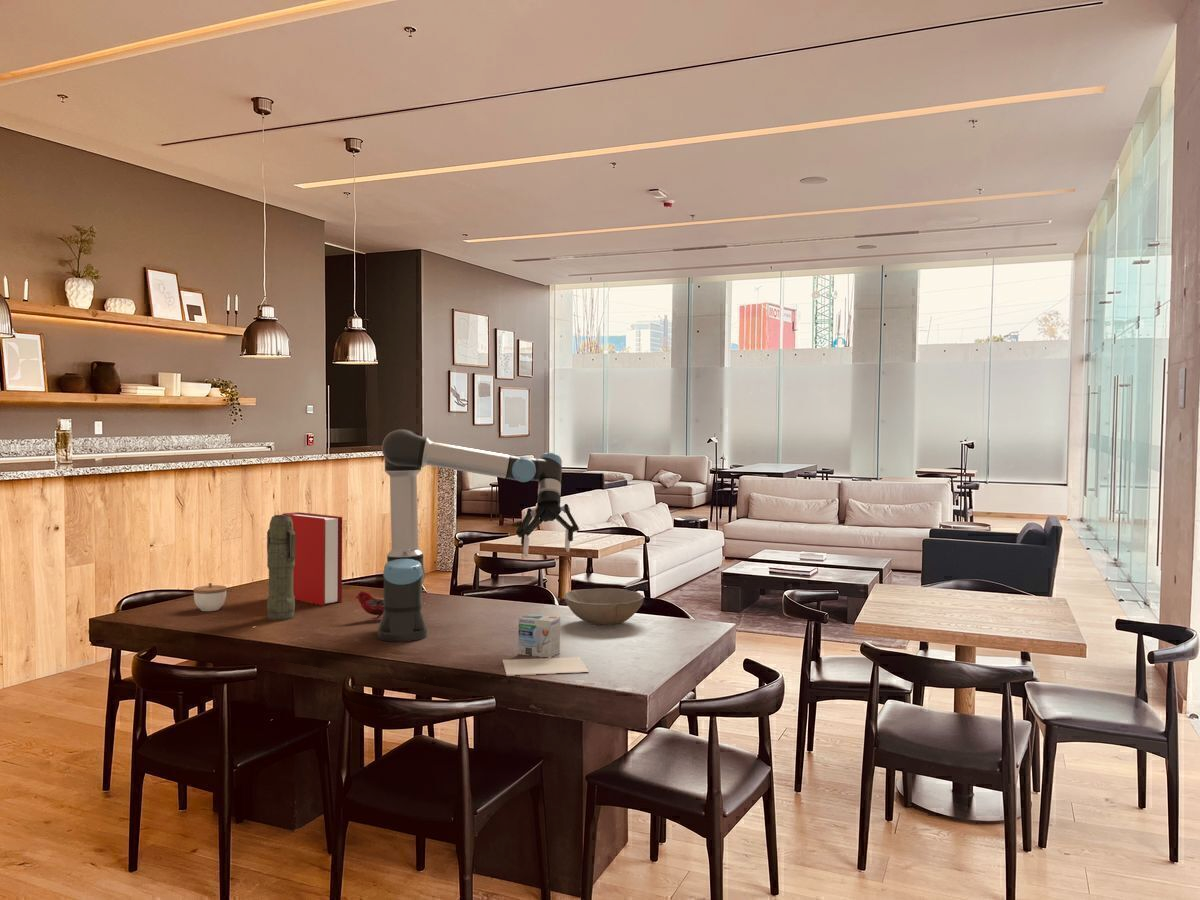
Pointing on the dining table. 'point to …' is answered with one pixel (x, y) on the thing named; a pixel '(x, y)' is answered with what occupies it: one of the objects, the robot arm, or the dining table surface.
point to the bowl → (604, 605)
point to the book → (317, 558)
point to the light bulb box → (539, 635)
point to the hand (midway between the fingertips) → (546, 552)
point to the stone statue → (281, 568)
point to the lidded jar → (210, 597)
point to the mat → (544, 666)
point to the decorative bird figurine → (371, 604)
